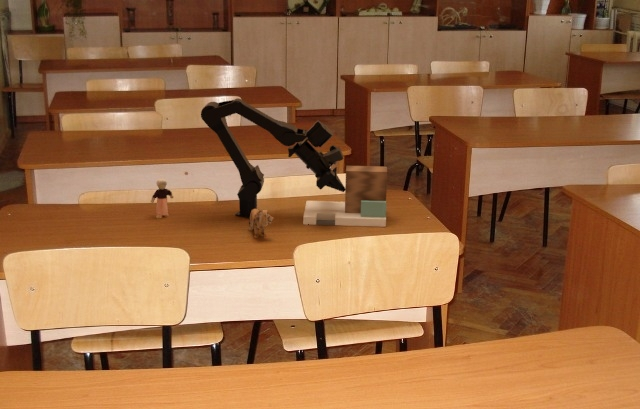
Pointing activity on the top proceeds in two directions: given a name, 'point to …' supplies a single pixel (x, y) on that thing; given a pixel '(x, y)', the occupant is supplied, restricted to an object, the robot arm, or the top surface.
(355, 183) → the walnut block
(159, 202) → the grandmother figurine
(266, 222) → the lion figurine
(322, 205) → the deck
